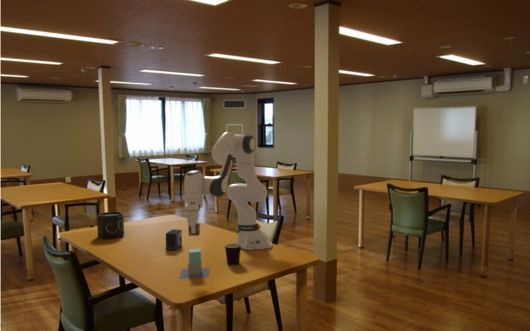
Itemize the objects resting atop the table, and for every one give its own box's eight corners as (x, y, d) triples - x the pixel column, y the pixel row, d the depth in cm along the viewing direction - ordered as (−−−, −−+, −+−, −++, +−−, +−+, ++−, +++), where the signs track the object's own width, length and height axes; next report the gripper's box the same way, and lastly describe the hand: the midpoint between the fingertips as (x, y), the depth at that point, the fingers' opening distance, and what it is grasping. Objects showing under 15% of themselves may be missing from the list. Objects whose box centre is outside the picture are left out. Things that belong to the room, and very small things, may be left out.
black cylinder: (131, 235, 277) (130, 212, 276) (108, 241, 262) (107, 217, 261) (114, 231, 287) (113, 210, 286) (91, 237, 272) (90, 214, 271)
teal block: (199, 259, 203) (199, 248, 203) (200, 262, 198) (200, 251, 197) (188, 260, 202) (188, 249, 201) (189, 263, 196) (189, 252, 196)
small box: (175, 250, 240) (175, 233, 239) (165, 250, 241) (164, 233, 240) (182, 246, 250) (182, 229, 249) (172, 245, 251) (172, 229, 251)
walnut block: (199, 233, 201) (199, 223, 201) (198, 235, 196) (198, 225, 196) (189, 233, 201) (189, 223, 201) (188, 235, 196) (188, 225, 196)
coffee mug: (234, 267, 210) (234, 248, 209) (222, 264, 214) (221, 246, 213) (247, 261, 219) (247, 243, 219) (234, 258, 224) (234, 241, 223)
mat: (209, 268, 208) (209, 267, 208) (208, 278, 194) (208, 277, 194) (182, 269, 207) (182, 268, 207) (179, 279, 193) (179, 278, 193)
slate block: (201, 270, 204) (201, 259, 203) (200, 274, 198) (200, 263, 197) (189, 271, 203) (189, 259, 203) (188, 275, 197) (188, 263, 197)
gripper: (189, 200, 208) (189, 226, 209) (184, 207, 187) (185, 236, 188) (201, 200, 208) (202, 226, 209) (198, 207, 188) (198, 236, 189)
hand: (194, 231), depth 199 cm, fingers closed on walnut block, 5 cm apart
